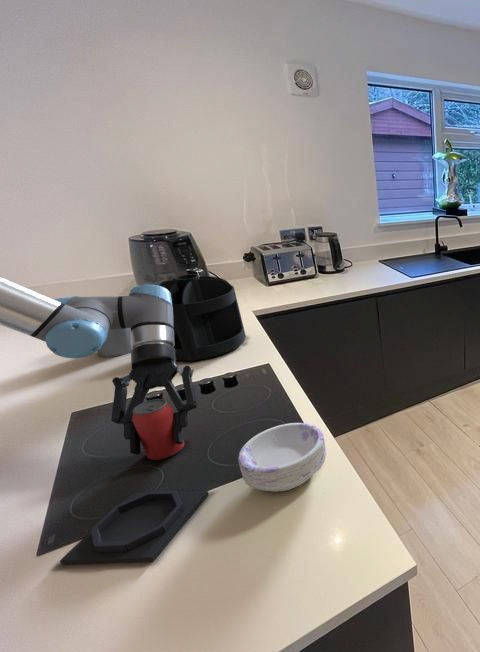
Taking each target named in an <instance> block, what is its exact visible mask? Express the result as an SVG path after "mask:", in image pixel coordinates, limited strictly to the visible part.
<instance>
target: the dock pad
mask: <svg viewBox="0 0 480 652" xmlns="http://www.w3.org/2000/svg"><path fill="white" fill-rule="evenodd" d="M208 496H209V491H208V490H201V491H199V490H198V491H197V490H195V491H193V490H191V491H177V490H150V491H147V492H131V493H130V494H129V495H127V497H126V498H124V500H123V501H121V503H119V504H117V505H115V506H113V507H112V508H111V509H110V510H109V511H108V512H107V513H106V514H105V515H104V516H102V517H101V518H100V520H99V521H97V522H96V523H95V524H94V525H93V526H92V527H91V529H90V532H89V533H87V534H86V535H85V536H84V537H83V538H82V539H81V540H80V541H79V542H78V543H77V544H76V545H74V547H72V549H70V550H69V551H68V552H67V553H66V554H65V555H64V556H63V557H62V558H61V559H60V560H59V562H60V564H61V565H62V566H68V565H71V566H72V565H96V564H123V563H126V564H127V563H153V562H155V561H156V559H157V558H158V557H159V556H160V554H162V553H163V551H164V550H165V548H166V547H167V546H168V545H169V543H170V542H171V541H172V540H173V539H174V538H175V537H176V536H177V534H178V533H179V531H181V529H182V528H183V527H184V526H185V524H186V523H187V522H188V521H189V520H190V519H191V517H192V516H193V515H194V514H195V512H196V511H197V510H198V508H199V507H200V506H201V505H202V504H203V503H204V501H205V500H206V499H207V498H208Z"/></svg>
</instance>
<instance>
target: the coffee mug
mask: <svg viewBox="0 0 480 652" xmlns="http://www.w3.org/2000/svg"><path fill="white" fill-rule="evenodd" d="M132 350H133V349H132V348H131V328H126V329H110V330H109V332H108V335H107V339H106V342H105V343H104V344H103V345H102V346H101V348H100V349H99V350H98V351H97V352H96V353H99V355H100V357H104V358H105V357H107V358H109V357H119V356H122V355H127V354H131V351H132Z"/></svg>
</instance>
